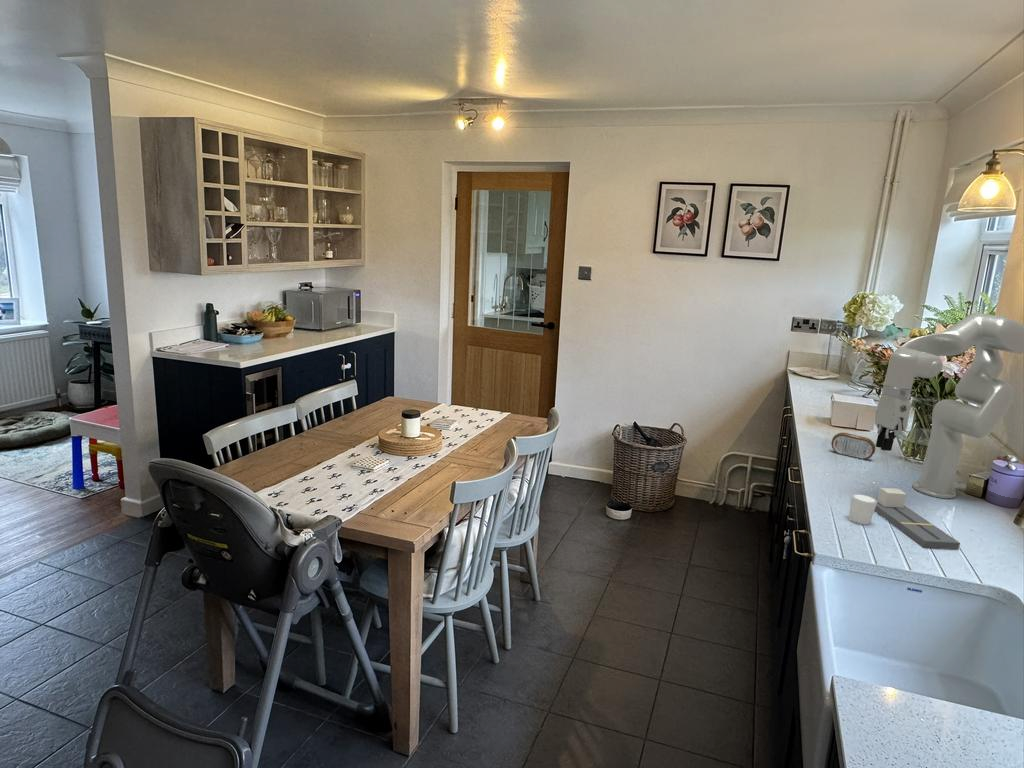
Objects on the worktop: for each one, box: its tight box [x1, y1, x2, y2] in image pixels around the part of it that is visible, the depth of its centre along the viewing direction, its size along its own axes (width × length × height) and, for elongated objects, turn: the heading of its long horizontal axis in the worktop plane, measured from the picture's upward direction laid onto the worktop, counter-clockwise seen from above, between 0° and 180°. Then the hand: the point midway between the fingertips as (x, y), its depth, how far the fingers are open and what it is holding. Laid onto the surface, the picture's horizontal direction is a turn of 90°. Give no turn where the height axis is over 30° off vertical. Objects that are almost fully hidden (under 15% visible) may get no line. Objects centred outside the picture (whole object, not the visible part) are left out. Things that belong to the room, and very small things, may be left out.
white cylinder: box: [848, 493, 877, 525], centre depth 199 cm, size 7×7×7 cm
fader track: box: [874, 498, 961, 550], centre depth 199 cm, size 28×10×2 cm, turn 4°
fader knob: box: [876, 487, 907, 508], centre depth 208 cm, size 4×6×4 cm, turn 94°
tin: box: [830, 432, 876, 461], centre depth 258 cm, size 15×3×8 cm, turn 58°
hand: (883, 448), depth 213 cm, fingers closed
